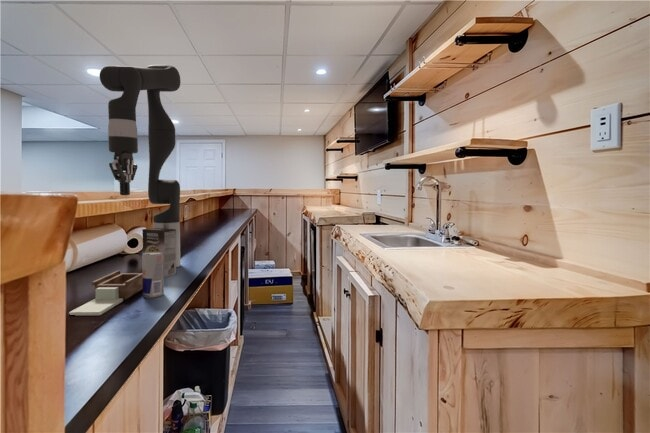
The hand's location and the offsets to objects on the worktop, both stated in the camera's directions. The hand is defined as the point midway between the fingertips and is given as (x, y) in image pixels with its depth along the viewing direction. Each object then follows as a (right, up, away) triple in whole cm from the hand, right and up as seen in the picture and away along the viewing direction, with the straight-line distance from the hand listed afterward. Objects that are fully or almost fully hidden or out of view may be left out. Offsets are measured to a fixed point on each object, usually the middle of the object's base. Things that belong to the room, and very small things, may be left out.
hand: (125, 195), depth 108 cm
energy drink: (+12, -29, -6) cm, 32 cm away
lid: (+3, -30, -18) cm, 35 cm away
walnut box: (+2, -28, -4) cm, 29 cm away
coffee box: (+2, -27, +18) cm, 32 cm away
